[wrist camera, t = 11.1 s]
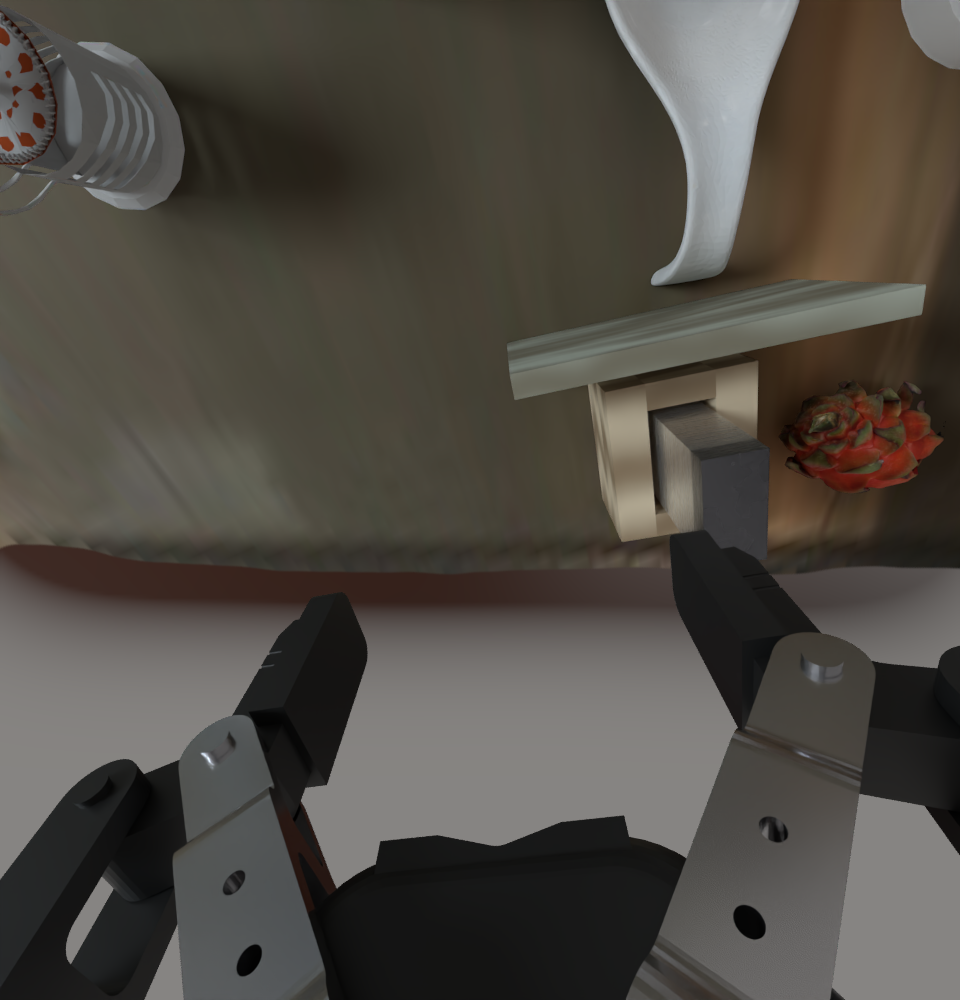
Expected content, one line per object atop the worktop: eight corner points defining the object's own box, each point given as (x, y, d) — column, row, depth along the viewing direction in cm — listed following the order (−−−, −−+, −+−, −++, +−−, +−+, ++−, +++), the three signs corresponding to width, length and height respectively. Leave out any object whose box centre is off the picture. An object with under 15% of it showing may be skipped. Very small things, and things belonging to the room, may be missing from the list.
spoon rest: (580, -138, 29) (604, -257, 22) (792, -196, 27) (883, -340, 21) (606, 295, 38) (628, 300, 32) (763, 266, 37) (819, 266, 31)
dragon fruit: (748, 405, 43) (868, 412, 45) (757, 501, 41) (882, 504, 43) (828, 361, 35) (973, 371, 36) (844, 478, 33) (995, 484, 35)
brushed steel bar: (642, 404, 37) (701, 460, 26) (689, 395, 37) (769, 448, 26) (649, 487, 40) (705, 568, 29) (693, 479, 40) (766, 558, 29)
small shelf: (506, 343, 40) (509, 374, 28) (791, 279, 37) (926, 284, 25) (538, 510, 46) (551, 592, 35) (783, 466, 44) (888, 539, 32)
